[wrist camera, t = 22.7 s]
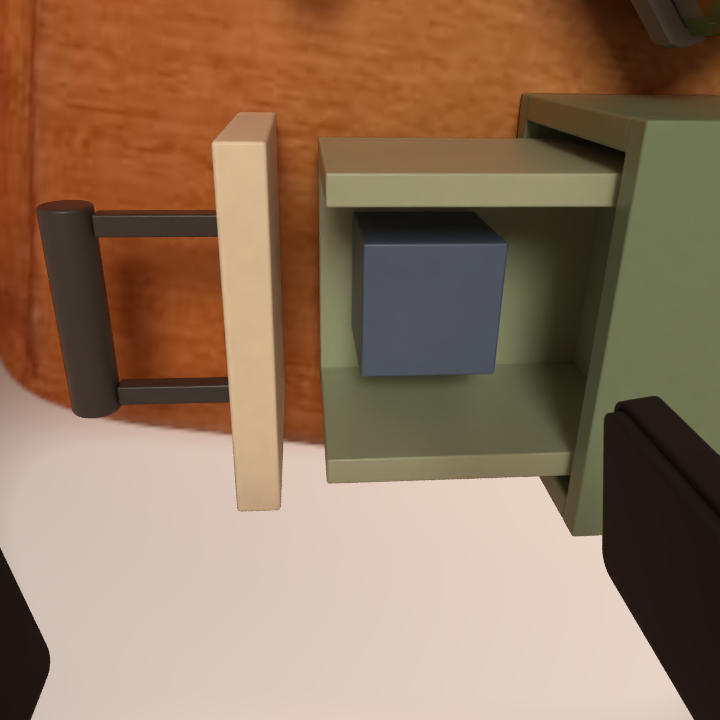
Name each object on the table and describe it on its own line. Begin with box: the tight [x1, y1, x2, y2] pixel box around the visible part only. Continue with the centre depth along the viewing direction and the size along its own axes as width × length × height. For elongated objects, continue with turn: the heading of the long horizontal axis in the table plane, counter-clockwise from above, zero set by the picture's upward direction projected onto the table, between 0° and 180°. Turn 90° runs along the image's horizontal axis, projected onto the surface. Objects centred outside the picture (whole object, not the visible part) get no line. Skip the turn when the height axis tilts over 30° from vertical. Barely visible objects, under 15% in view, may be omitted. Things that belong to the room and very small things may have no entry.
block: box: [351, 212, 508, 377], centre depth 21 cm, size 4×4×4 cm
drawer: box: [36, 112, 626, 511], centre depth 21 cm, size 17×10×7 cm, turn 89°
